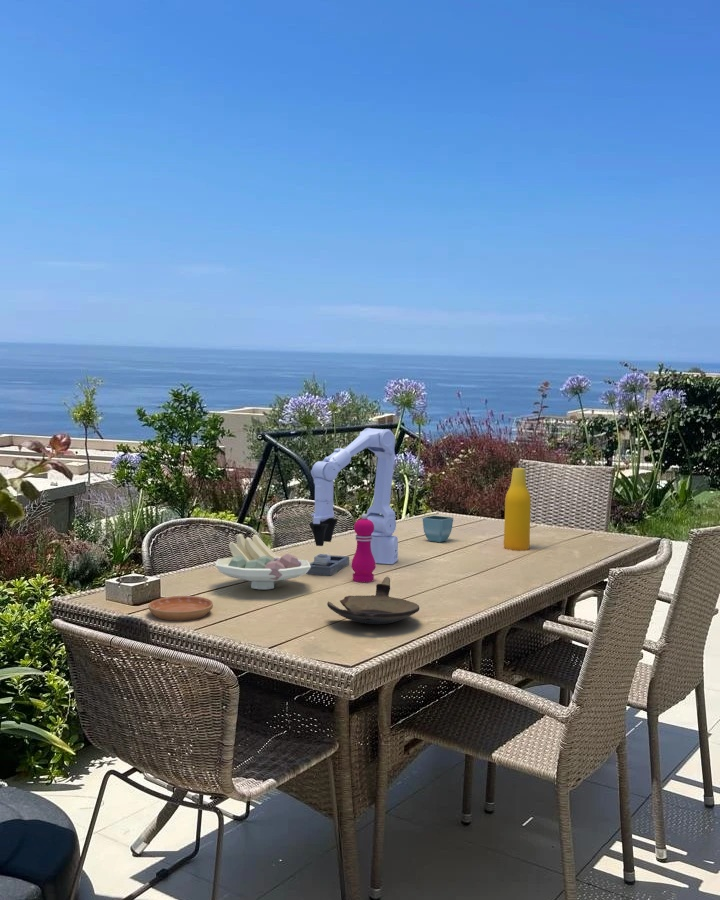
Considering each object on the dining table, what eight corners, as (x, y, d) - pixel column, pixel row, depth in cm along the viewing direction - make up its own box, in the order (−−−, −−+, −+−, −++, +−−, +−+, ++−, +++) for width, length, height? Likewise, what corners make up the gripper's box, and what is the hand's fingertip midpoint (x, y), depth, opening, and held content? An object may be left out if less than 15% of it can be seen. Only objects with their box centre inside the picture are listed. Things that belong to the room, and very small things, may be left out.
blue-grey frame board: (349, 564, 294) (349, 556, 294) (330, 575, 276) (330, 567, 276) (325, 562, 296) (325, 555, 296) (305, 573, 278) (305, 565, 278)
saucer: (210, 622, 221) (210, 610, 221) (143, 623, 220) (143, 611, 220) (215, 606, 237) (215, 595, 237) (153, 607, 236) (153, 595, 236)
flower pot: (433, 538, 347) (433, 515, 346) (453, 540, 342) (454, 517, 341) (421, 541, 340) (421, 517, 339) (441, 544, 335) (442, 520, 334)
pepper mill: (363, 576, 276) (364, 511, 275) (380, 580, 271) (381, 514, 269) (346, 579, 271) (347, 513, 270) (363, 583, 266) (364, 516, 264)
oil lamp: (307, 626, 219) (308, 594, 219) (372, 602, 244) (373, 573, 244) (387, 641, 207) (387, 608, 207) (447, 614, 232) (447, 584, 232)
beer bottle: (534, 549, 327) (537, 469, 325) (516, 551, 322) (518, 470, 320) (516, 545, 335) (519, 466, 333) (498, 547, 330) (500, 467, 327)
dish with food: (250, 573, 277) (250, 527, 276) (329, 584, 265) (330, 536, 264) (193, 591, 253) (193, 541, 252) (277, 604, 240) (278, 551, 239)
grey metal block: (330, 571, 283) (330, 554, 283) (326, 573, 279) (326, 556, 279) (318, 570, 284) (318, 553, 284) (313, 572, 280) (314, 555, 280)
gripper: (319, 496, 288) (319, 539, 289) (303, 502, 274) (303, 546, 275) (340, 497, 286) (340, 540, 287) (325, 503, 272) (325, 548, 273)
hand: (323, 543), depth 281 cm, fingers open, 7 cm apart
